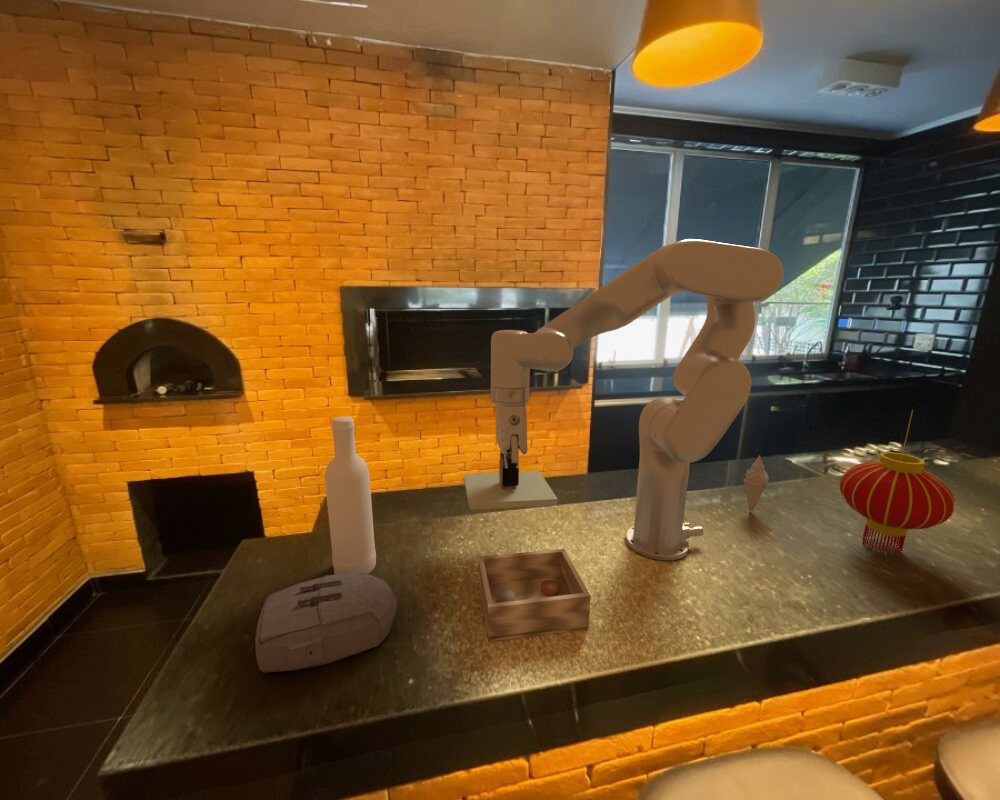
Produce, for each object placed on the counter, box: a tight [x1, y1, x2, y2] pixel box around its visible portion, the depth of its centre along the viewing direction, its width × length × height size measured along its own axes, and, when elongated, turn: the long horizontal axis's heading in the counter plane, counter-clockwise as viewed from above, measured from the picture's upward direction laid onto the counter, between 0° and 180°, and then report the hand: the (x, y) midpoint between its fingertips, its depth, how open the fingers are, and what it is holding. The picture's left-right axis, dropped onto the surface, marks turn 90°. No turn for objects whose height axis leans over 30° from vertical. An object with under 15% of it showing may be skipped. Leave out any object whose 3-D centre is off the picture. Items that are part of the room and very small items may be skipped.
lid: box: [463, 455, 559, 510], centre depth 87 cm, size 17×14×8 cm
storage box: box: [477, 548, 591, 643], centre depth 71 cm, size 16×13×6 cm
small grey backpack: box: [254, 573, 398, 674], centre depth 65 cm, size 15×8×20 cm
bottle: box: [324, 416, 377, 575], centre depth 79 cm, size 8×8×30 cm
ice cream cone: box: [742, 454, 769, 512], centre depth 102 cm, size 5×5×15 cm
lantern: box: [839, 409, 955, 554], centre depth 86 cm, size 17×17×30 cm
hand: (508, 480), depth 87 cm, fingers closed on lid, 3 cm apart
